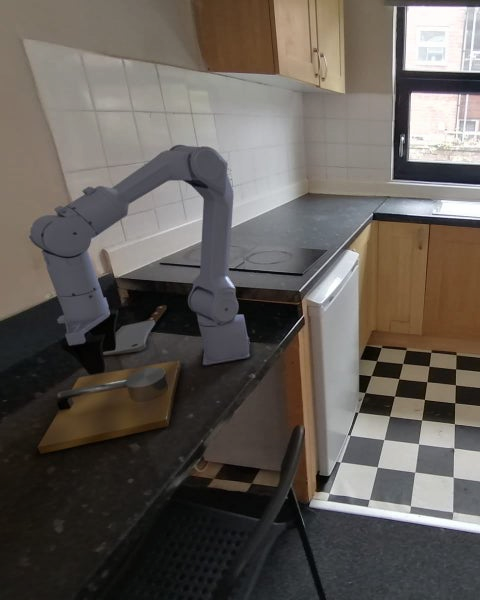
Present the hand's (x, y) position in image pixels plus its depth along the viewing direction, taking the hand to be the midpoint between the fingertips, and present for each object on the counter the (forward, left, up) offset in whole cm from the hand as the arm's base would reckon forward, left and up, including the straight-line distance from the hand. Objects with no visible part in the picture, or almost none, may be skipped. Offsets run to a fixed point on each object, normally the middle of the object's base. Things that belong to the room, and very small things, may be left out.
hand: (103, 361), depth 71 cm
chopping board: (0, 0, -9) cm, 9 cm away
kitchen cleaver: (+2, -32, -10) cm, 33 cm away
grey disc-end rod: (0, 0, -8) cm, 8 cm away
